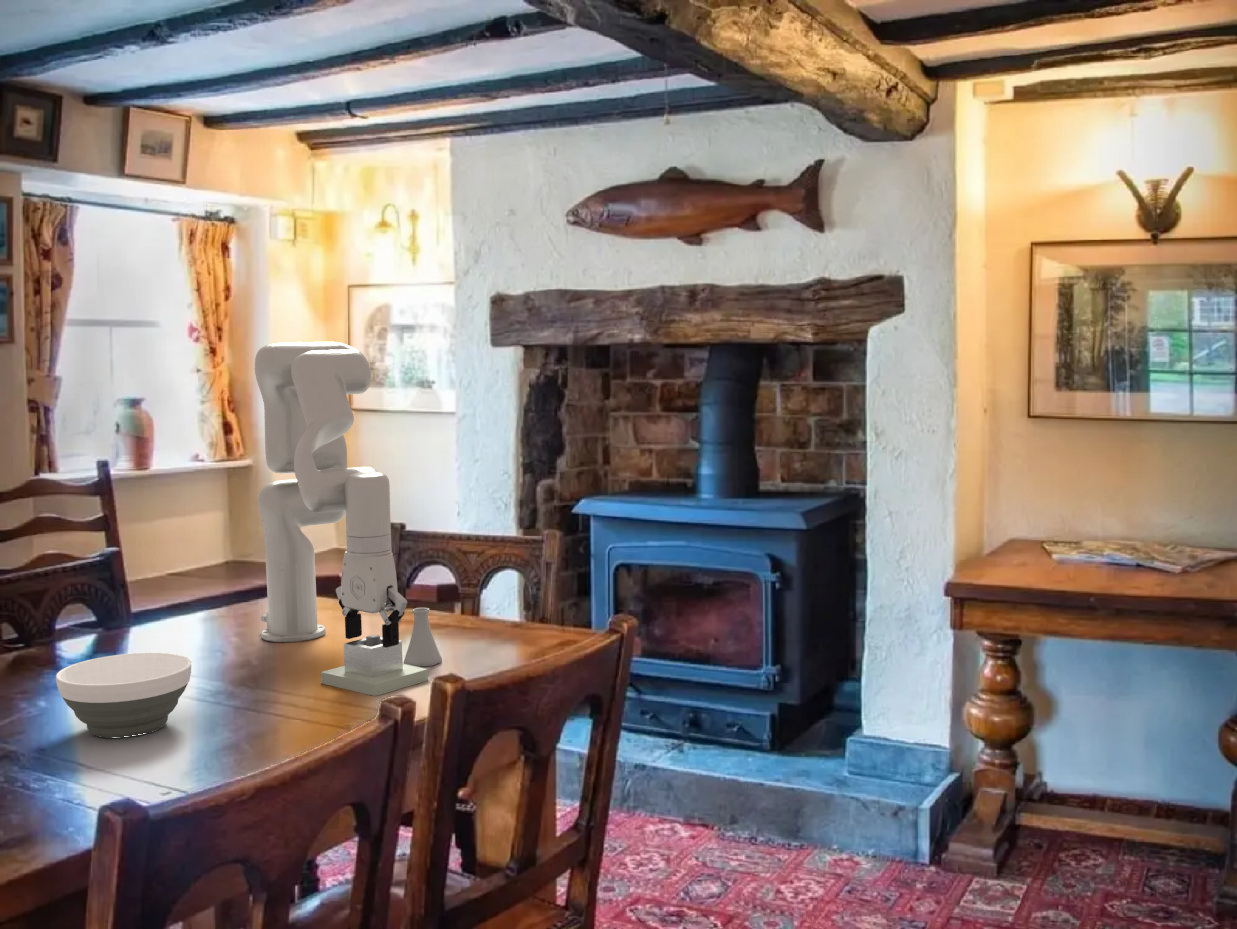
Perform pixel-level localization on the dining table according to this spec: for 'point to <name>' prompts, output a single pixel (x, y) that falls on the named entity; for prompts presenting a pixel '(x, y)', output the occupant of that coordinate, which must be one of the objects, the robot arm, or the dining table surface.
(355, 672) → the white square ring
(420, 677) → the keeper
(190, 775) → the dining table surface
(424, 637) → the flask
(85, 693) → the bowl
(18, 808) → the dining table surface
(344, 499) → the robot arm
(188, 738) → the dining table surface
